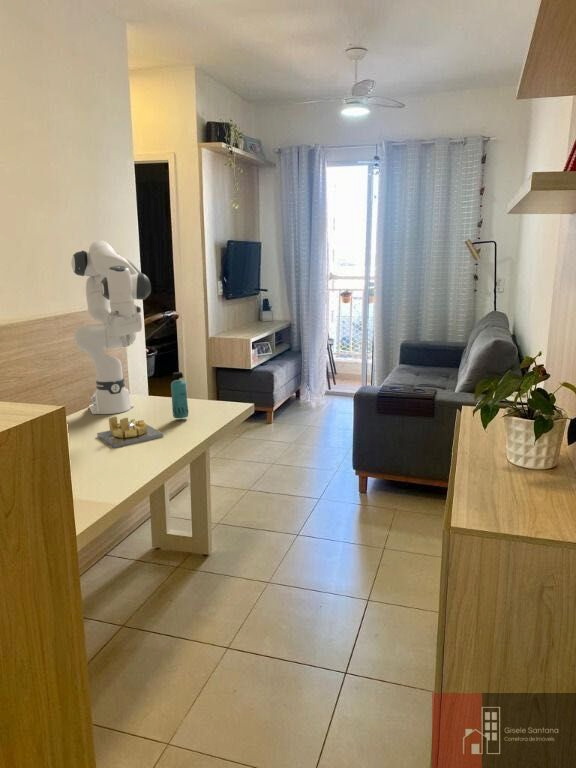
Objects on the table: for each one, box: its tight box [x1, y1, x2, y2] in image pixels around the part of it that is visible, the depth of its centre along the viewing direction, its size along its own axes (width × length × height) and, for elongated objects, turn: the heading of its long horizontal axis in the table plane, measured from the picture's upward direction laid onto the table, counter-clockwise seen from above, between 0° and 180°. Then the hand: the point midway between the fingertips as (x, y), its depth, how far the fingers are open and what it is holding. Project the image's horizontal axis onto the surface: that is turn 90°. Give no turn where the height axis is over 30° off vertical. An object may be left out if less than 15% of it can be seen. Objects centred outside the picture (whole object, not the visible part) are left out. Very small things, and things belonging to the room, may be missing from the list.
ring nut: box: [108, 416, 147, 438], centre depth 212 cm, size 13×12×7 cm
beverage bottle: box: [170, 371, 190, 419], centre depth 232 cm, size 6×7×20 cm
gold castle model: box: [96, 421, 164, 449], centre depth 213 cm, size 18×19×5 cm
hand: (126, 346), depth 215 cm, fingers closed
